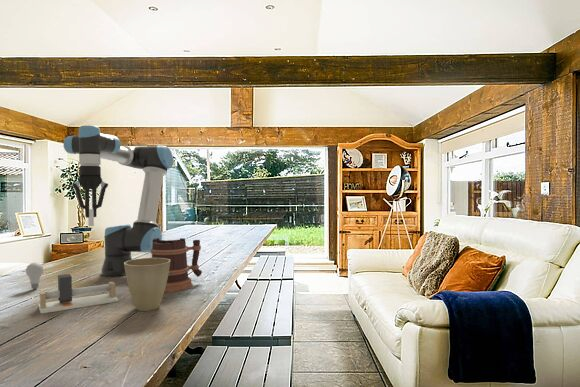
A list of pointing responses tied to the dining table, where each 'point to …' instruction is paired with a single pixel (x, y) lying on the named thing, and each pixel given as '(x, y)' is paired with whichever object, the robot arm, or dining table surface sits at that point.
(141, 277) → the plant pot
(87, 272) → the dining table surface
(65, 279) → the dark grey slider block
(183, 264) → the mug
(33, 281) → the lightbulb
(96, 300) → the rail
